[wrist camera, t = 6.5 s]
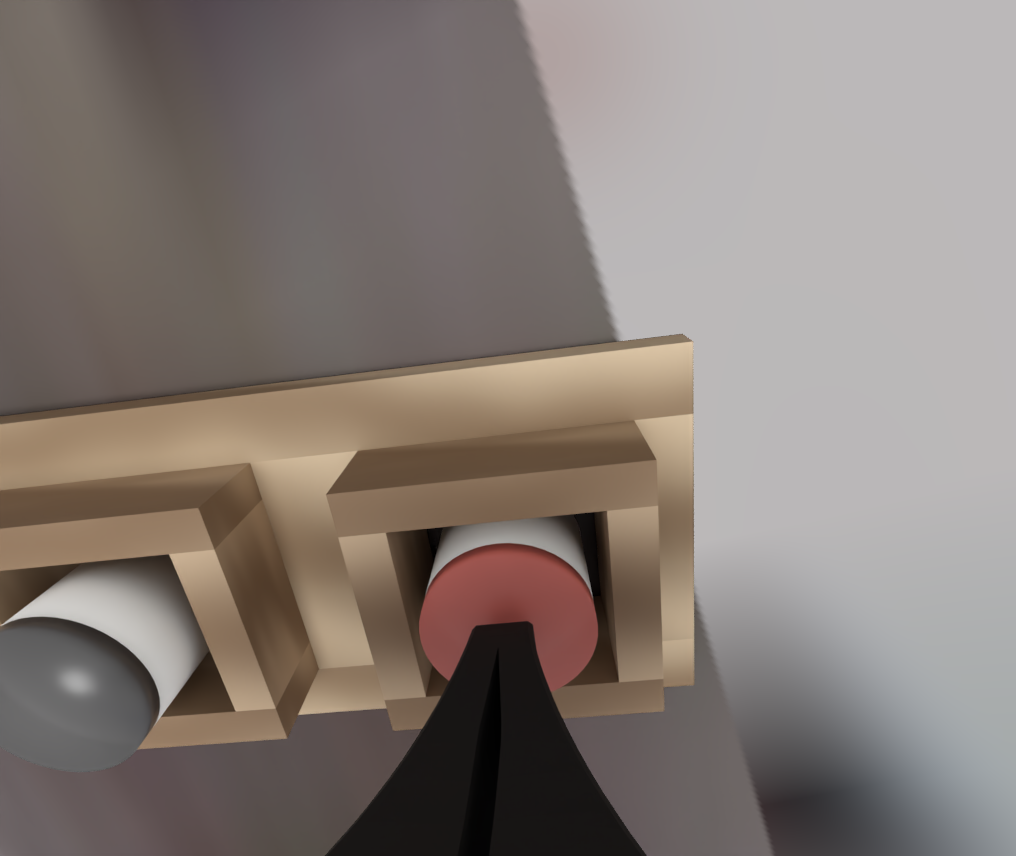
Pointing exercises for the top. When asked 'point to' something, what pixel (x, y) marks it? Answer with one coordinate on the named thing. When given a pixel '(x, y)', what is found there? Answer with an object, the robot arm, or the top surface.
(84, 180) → the top surface
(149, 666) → the grey plug
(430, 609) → the plug red
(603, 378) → the socket panel
